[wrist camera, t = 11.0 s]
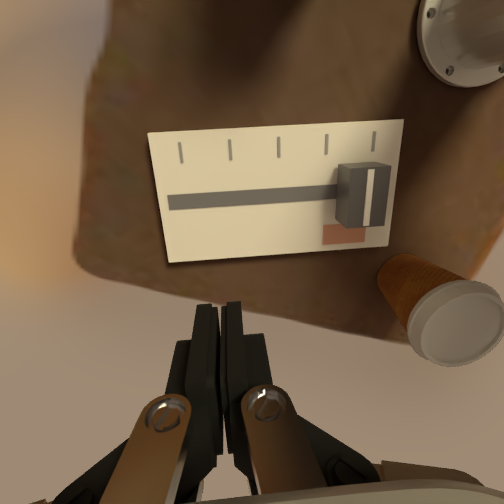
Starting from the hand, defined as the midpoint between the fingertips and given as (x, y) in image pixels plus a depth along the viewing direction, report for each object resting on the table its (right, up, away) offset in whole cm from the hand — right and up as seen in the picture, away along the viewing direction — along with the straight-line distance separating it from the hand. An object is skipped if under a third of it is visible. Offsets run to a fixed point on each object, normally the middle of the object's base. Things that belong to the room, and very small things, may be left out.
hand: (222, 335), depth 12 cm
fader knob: (+12, +10, +22) cm, 27 cm away
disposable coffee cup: (+21, 0, +29) cm, 36 cm away
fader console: (+4, +10, +23) cm, 26 cm away
